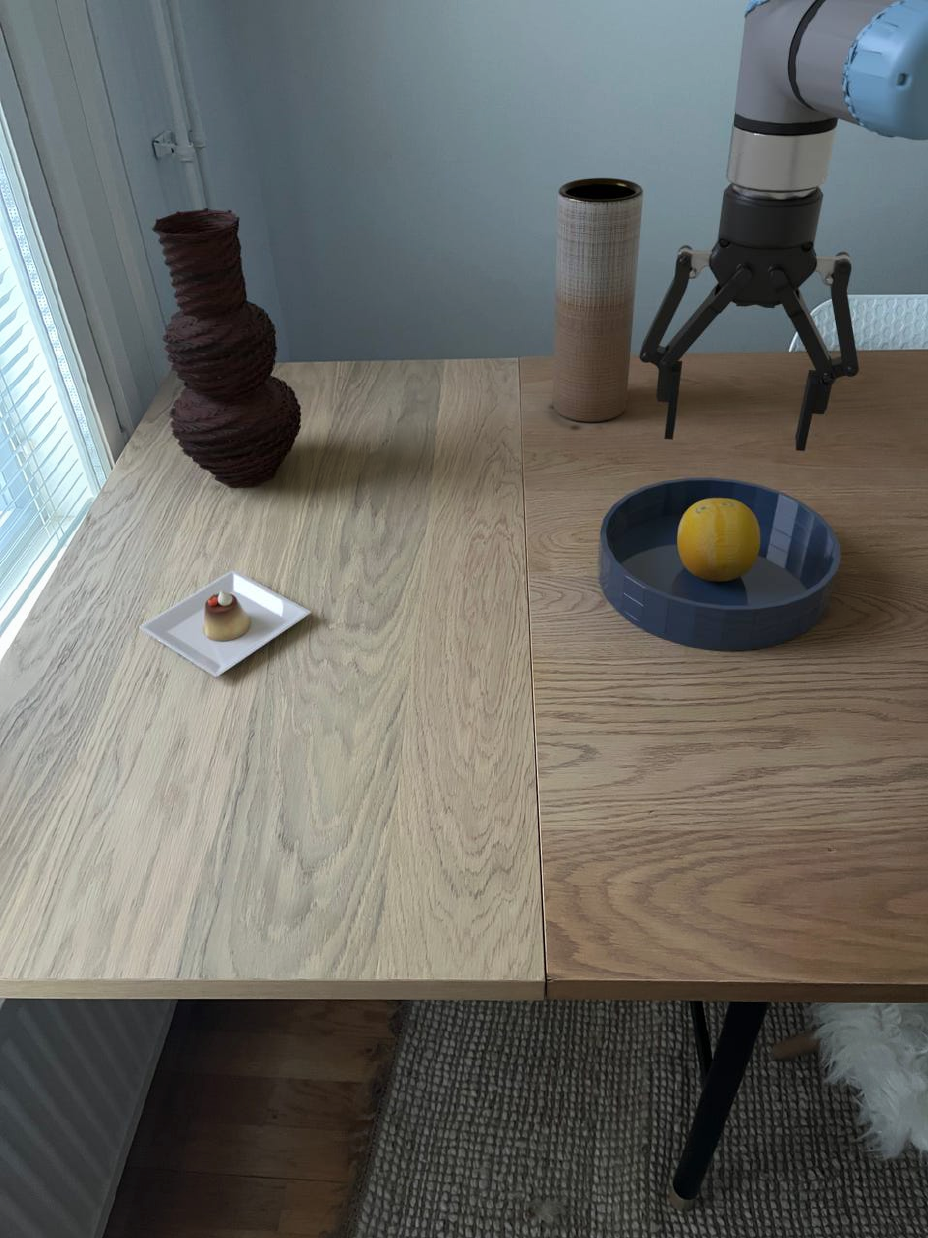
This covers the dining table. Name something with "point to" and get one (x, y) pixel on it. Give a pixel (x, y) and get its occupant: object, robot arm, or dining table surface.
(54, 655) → the dining table surface
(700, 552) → the fruit
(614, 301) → the tall ceramic vase
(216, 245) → the vase
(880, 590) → the dining table surface
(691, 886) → the dining table surface
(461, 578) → the dining table surface
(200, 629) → the dessert
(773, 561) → the bowl
